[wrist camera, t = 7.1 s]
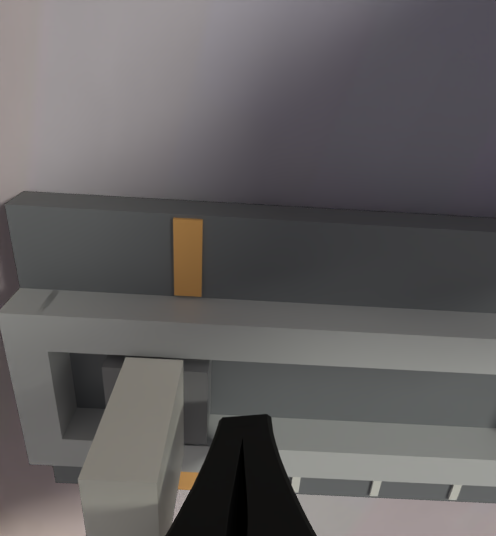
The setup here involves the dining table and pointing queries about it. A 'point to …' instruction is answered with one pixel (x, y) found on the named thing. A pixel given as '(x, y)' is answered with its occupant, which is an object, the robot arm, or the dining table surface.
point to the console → (267, 333)
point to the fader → (143, 443)
